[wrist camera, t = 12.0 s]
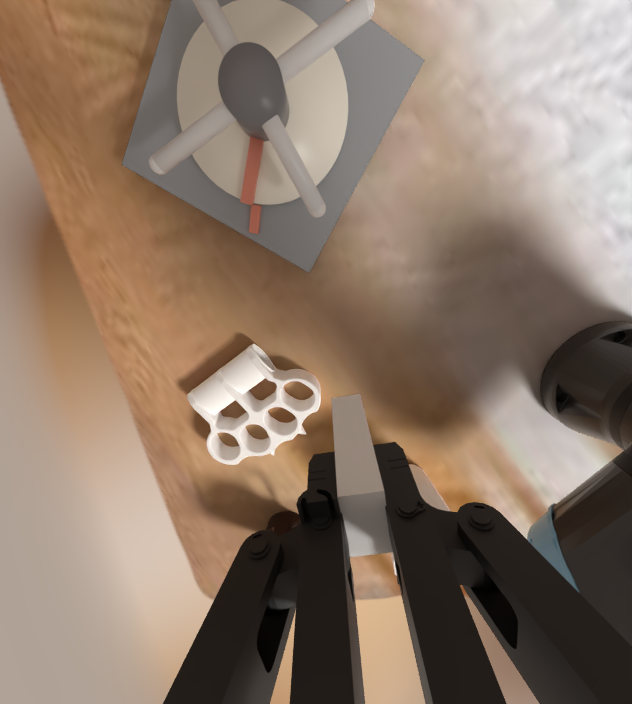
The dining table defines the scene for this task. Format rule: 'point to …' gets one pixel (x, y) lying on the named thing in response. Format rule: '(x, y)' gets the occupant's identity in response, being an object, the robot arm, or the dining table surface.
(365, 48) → the dial board
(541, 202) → the dining table surface
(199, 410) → the white brass knuckles
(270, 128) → the capstan
